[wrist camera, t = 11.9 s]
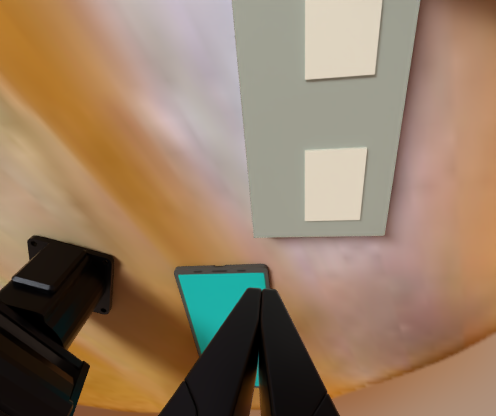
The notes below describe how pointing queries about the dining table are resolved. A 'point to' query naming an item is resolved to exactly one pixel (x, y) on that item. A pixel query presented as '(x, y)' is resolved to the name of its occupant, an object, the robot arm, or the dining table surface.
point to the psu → (322, 111)
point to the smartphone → (216, 295)
